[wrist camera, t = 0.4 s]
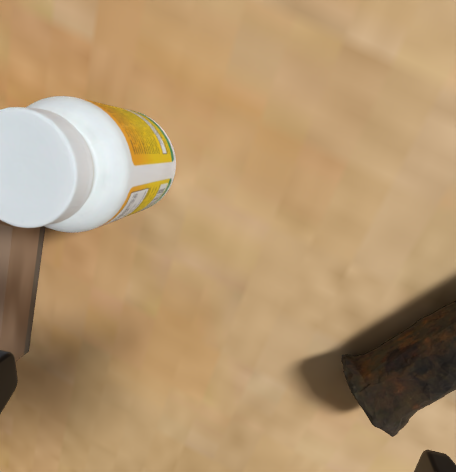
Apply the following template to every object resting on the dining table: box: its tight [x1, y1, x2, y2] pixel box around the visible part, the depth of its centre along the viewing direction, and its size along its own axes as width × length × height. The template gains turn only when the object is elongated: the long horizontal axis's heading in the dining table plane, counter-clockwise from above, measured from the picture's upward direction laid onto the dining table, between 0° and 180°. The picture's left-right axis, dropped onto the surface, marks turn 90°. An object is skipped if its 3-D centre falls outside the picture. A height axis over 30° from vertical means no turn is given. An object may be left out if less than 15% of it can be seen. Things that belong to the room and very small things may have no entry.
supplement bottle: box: [0, 96, 176, 232], centre depth 18 cm, size 5×5×10 cm
